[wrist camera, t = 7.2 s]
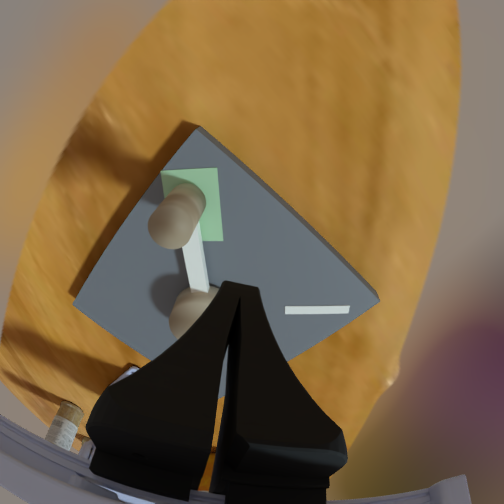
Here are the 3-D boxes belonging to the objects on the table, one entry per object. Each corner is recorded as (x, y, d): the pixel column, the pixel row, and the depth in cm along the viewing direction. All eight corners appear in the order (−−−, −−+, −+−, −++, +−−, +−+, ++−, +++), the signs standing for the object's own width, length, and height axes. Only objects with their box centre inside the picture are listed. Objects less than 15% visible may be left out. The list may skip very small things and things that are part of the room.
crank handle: (241, 334, 25) (236, 371, 21) (182, 331, 25) (171, 367, 22) (225, 180, 18) (213, 205, 15) (147, 185, 19) (122, 210, 15)
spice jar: (66, 409, 42) (40, 469, 30) (58, 396, 39) (29, 460, 28) (87, 417, 42) (63, 481, 30) (81, 405, 39) (53, 473, 28)
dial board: (219, 390, 32) (217, 399, 31) (77, 296, 26) (71, 304, 25) (376, 291, 24) (380, 301, 22) (200, 125, 18) (195, 128, 17)
